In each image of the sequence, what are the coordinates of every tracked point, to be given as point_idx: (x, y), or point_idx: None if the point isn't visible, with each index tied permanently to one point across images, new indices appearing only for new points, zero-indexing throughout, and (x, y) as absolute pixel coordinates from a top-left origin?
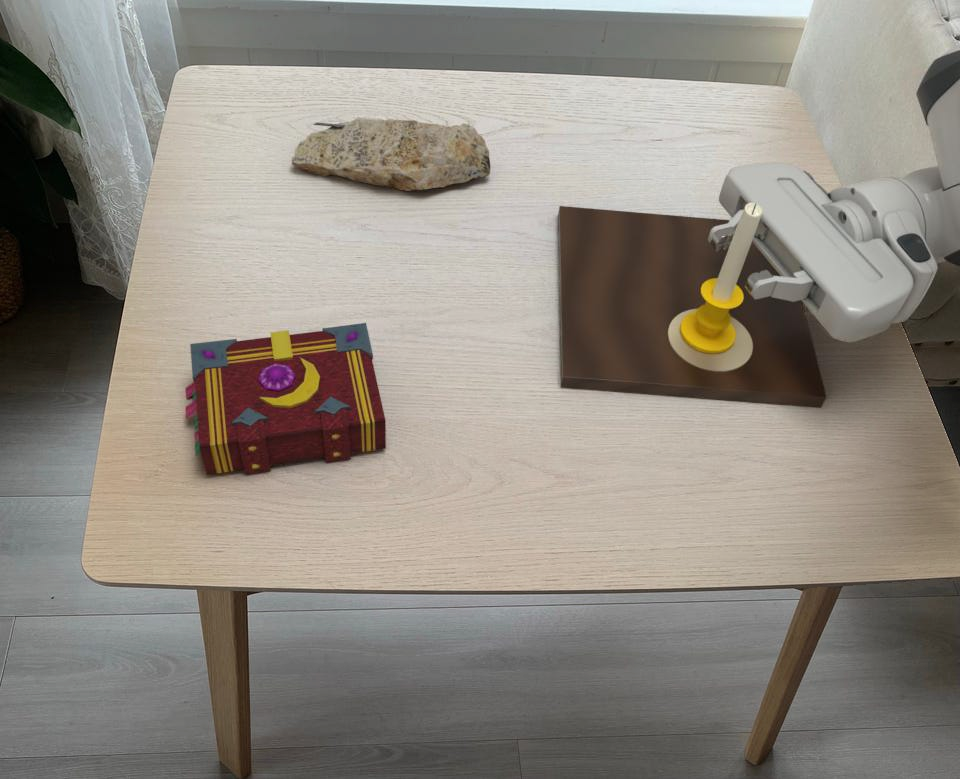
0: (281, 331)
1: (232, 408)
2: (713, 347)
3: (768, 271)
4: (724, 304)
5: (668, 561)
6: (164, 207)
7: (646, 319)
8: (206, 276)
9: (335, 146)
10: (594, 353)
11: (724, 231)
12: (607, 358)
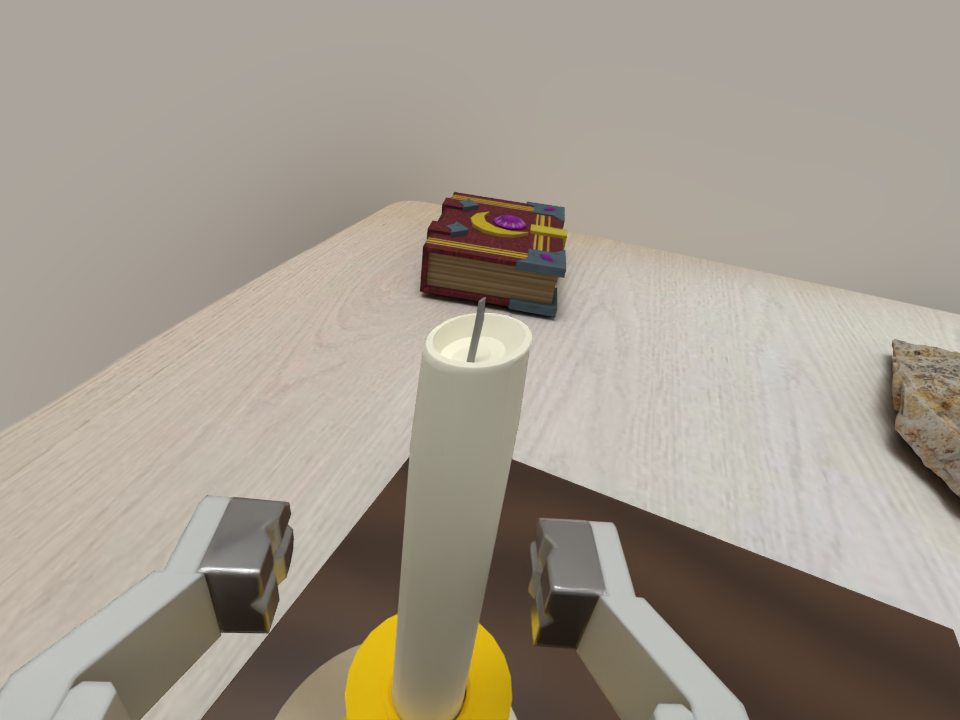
0: (566, 233)
1: (485, 206)
2: None
3: (243, 573)
4: (380, 665)
5: (48, 428)
6: (782, 279)
7: (526, 631)
8: (684, 276)
9: (943, 360)
10: None
11: (574, 541)
12: None
